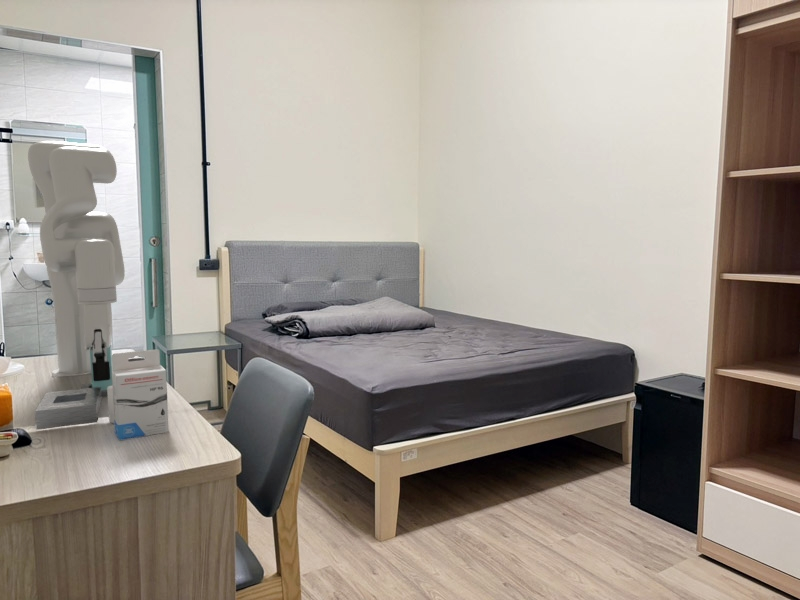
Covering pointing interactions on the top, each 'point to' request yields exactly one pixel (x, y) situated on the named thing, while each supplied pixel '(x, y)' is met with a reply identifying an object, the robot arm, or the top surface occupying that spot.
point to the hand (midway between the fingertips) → (102, 377)
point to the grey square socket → (84, 386)
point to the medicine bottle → (110, 396)
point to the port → (68, 408)
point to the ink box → (139, 395)
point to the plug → (107, 383)
